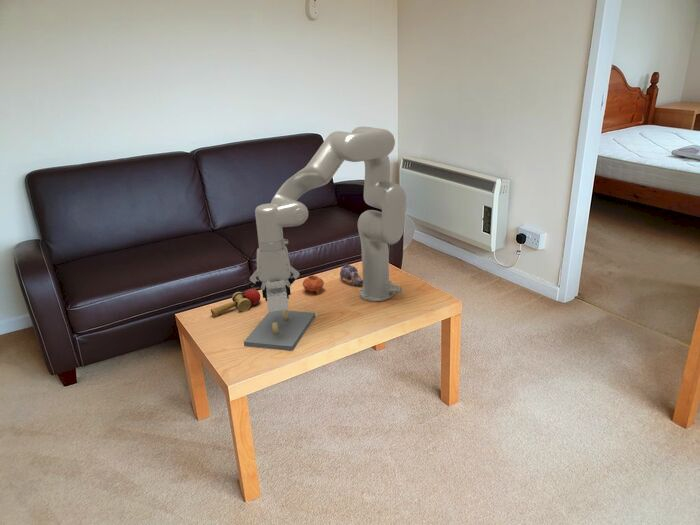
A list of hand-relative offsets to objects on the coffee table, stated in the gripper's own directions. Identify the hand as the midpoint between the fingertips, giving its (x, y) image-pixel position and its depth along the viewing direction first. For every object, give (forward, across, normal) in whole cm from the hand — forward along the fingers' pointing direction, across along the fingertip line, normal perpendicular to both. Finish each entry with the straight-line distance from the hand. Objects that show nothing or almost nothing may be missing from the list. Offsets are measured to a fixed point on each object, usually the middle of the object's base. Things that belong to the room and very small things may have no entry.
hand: (277, 297), depth 164 cm
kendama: (+12, +14, -20) cm, 27 cm away
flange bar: (+1, 0, 0) cm, 1 cm away
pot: (+12, -14, -27) cm, 33 cm away
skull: (+12, -29, -31) cm, 44 cm away
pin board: (+12, 0, 0) cm, 12 cm away
